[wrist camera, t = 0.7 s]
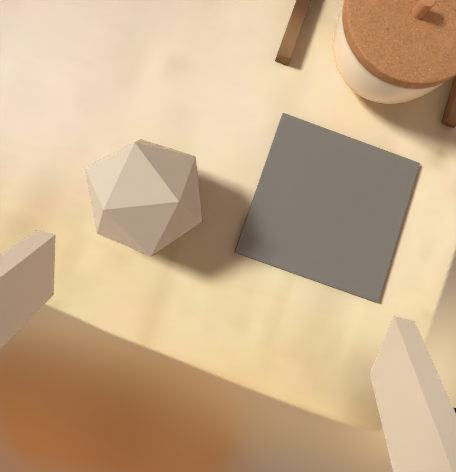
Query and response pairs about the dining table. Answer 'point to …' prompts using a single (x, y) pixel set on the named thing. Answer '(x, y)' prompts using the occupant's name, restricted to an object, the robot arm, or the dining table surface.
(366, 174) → the pad
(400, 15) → the lidded jar
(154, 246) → the die
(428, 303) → the dining table surface
